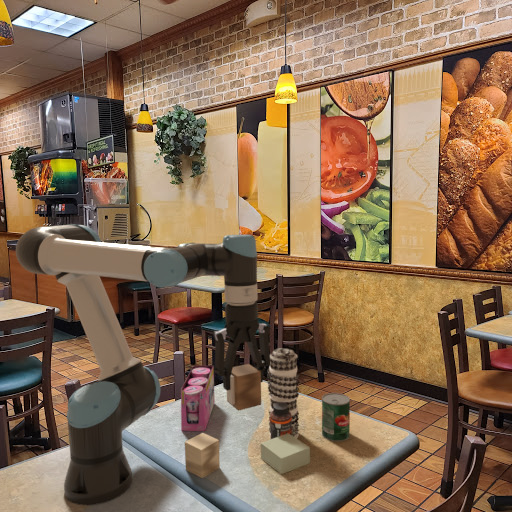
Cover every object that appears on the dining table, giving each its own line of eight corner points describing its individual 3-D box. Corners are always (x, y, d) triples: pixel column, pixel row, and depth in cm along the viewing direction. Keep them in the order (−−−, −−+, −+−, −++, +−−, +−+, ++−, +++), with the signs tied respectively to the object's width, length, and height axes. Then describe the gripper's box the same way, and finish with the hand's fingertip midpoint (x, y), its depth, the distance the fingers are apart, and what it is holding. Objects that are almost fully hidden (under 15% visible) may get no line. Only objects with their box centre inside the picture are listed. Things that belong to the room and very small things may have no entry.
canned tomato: (324, 426, 138) (324, 391, 137) (351, 430, 136) (351, 394, 134) (319, 439, 131) (319, 402, 130) (347, 443, 128) (347, 405, 127)
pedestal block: (281, 477, 113) (281, 458, 113) (260, 461, 121) (260, 443, 120) (309, 465, 118) (309, 447, 118) (288, 450, 126) (288, 433, 125)
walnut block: (238, 410, 105) (237, 376, 104) (227, 401, 110) (226, 368, 109) (261, 404, 107) (260, 371, 107) (249, 395, 113) (248, 363, 112)
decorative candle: (263, 429, 137) (262, 347, 134) (293, 425, 139) (292, 344, 136) (273, 445, 128) (272, 357, 125) (304, 439, 131) (304, 354, 128)
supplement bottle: (282, 452, 124) (281, 413, 122) (266, 443, 128) (264, 406, 126) (296, 442, 128) (295, 404, 126) (280, 434, 132) (279, 397, 130)
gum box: (205, 433, 135) (203, 392, 134) (180, 433, 136) (178, 392, 134) (215, 401, 158) (214, 365, 156) (193, 401, 158) (192, 365, 156)
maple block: (202, 481, 112) (201, 449, 111) (185, 472, 116) (184, 441, 115) (219, 470, 117) (218, 440, 116) (203, 461, 121) (202, 432, 120)
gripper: (209, 310, 98) (212, 414, 101) (285, 300, 107) (286, 395, 110) (196, 304, 105) (200, 402, 107) (268, 294, 114) (270, 385, 116)
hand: (243, 398), depth 109 cm, fingers closed on walnut block, 6 cm apart
